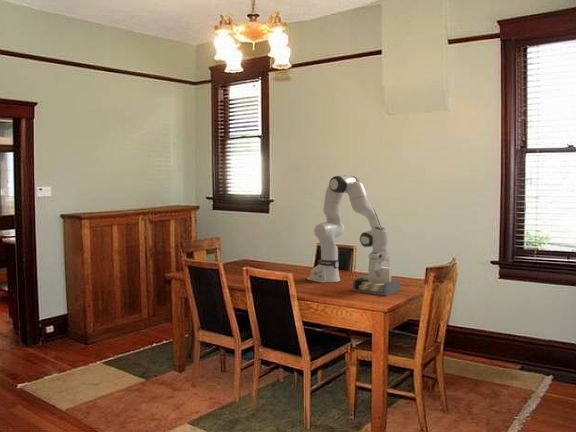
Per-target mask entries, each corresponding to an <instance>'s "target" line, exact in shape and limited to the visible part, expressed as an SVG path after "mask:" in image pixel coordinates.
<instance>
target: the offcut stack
mask: <svg viewBox="0 0 576 432" xmlns="http://www.w3.org/2000/svg"><path fill="white" fill-rule="evenodd" d="M359 289H363V290H370V291H377V292H384V284H383V283H376V282H369V281H365V282H361V285H359Z"/></svg>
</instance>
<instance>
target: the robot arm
mask: <svg viewBox="0 0 576 432" xmlns="http://www.w3.org/2000/svg"><path fill="white" fill-rule="evenodd" d="M328 183H329V184H328V186H327V187H326V191H325V194H324V201H323V202H324V203H323V211H322V212H323V213H324V215H325V217H326V221H325V222H320V223H318V224H316V225H315V227H314V230H313V232H314V236H315V237H316V238H317V239H318V242H319V246H320V259H318V260H317V263H318V264H317V265H316V266H315V267H313V269H311V271H310V276H308V277H306V279H307V280H309V281H313V282H316V283H317V282H318V283H336V282H340V281H341V278H340V273H339V266H340V265H339V262H340V261H339V249H338V248H339V247H338V245H336V243H335V238H339V237H341V236H342V235H343V234H344V233H345V230H346V229H345V226H344V225H345V224H344V223H343V222H342V218H341V211H342V210H341V207H342V197H343V195H344V194H347V195H348V199H349V201H350V202H349V203H350V206H351V208H352V211H354V212H355V213H356V214H360V215H361V216H364V217H365V218H366V219H367V221H368V222H369V226H370V228H371V230H367V231H364V232H362V233H361V234H360V237H359V243H360V245H362V247H364V248H372V251H371V252H370V253H369V254H368V266H369V270H370V271H375V273H376V277H380V274H379V270H381V268H382V267H388V268H390V265H391V262H390V261H391V259H390V256H389V253H388V241H389V239H388V238H389V237H388V236H389V235H388V230H387V229H386V228H385V227H383V226H381V223H380V222H381V221H380V220H379V217H378V215H377V212H376V210H375V208H374V207H373V206H372V205H371V203H370V200H369V197H368V194H367V191H366V189H365V186H364V184H363V183H362V182H361V181H360V179H359V178H357V177H356V176H354V175H335V176H333V177H332V178H330V180H329V182H328Z"/></svg>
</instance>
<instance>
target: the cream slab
mask: <svg viewBox="0 0 576 432" xmlns="http://www.w3.org/2000/svg"><path fill="white" fill-rule="evenodd" d="M367 270H368V271H367V273H368V274H367V275H368V281H369V282H376V283H383V284H385V283H388V282H391V281H392V267H382V268H381V270H379V274H380V277H376V273H375V271H370V270H369V265H368V269H367Z"/></svg>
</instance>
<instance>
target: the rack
mask: <svg viewBox="0 0 576 432" xmlns="http://www.w3.org/2000/svg"><path fill="white" fill-rule="evenodd" d="M365 281H368V274H367V275H364V276H360V277H357V278H354V279H353V280H352V291H353V292H357V293H363V294H370V295H377V296H383V297H388V296H390V295H393V294H394V293H398V292H400V291H401V279H400V278H398V279H397V278H396V279H395V280H391V282H388V283H385V284H384V292H377V291H370V290H363V289H359V285H361V282H365Z"/></svg>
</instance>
